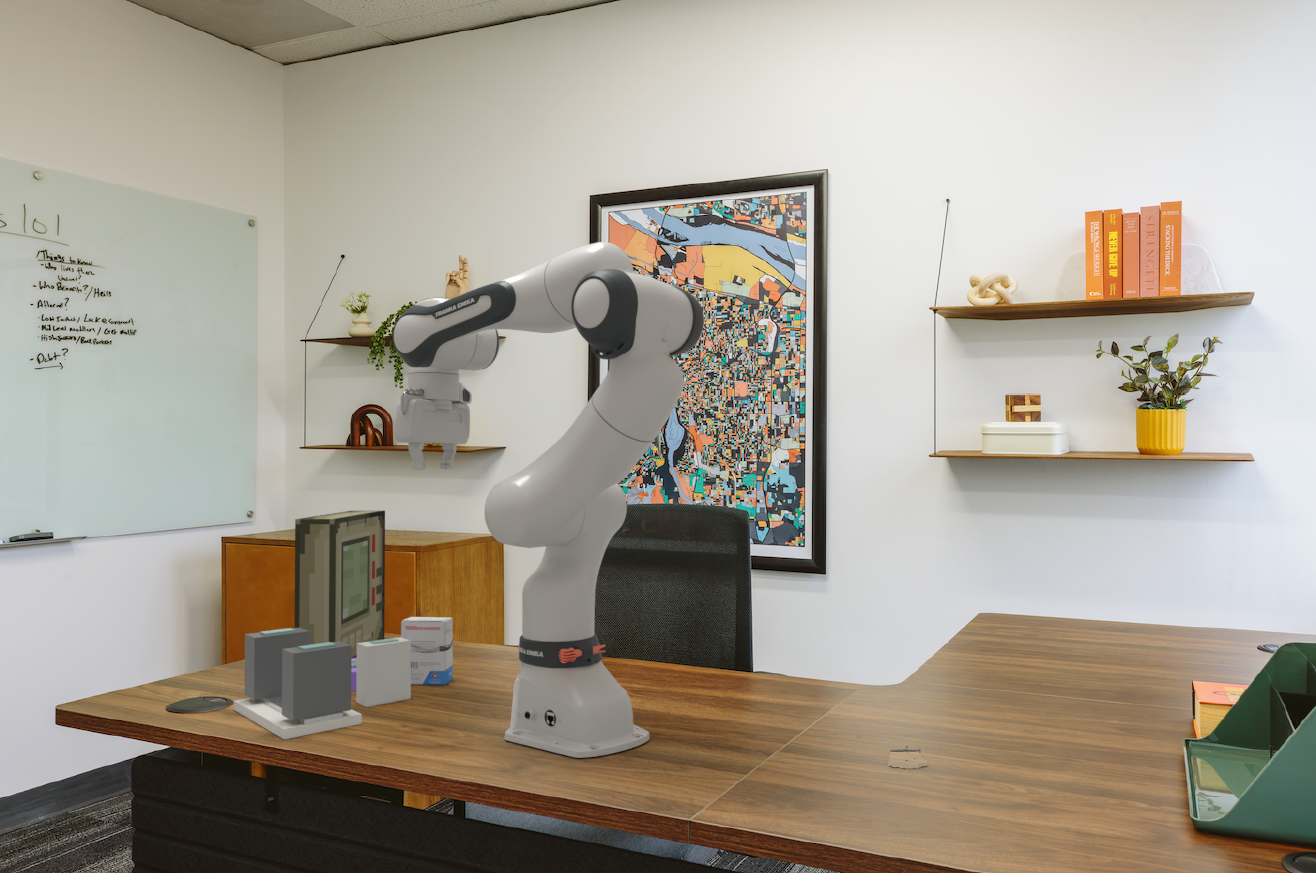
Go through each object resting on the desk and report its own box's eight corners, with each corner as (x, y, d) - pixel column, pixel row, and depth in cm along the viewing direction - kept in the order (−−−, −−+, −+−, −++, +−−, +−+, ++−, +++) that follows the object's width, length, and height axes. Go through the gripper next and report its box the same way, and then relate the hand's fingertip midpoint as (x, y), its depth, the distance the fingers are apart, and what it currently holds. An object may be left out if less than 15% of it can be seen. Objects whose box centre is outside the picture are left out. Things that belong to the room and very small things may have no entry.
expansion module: (410, 698, 161) (411, 639, 161) (366, 707, 155) (367, 645, 155) (399, 694, 164) (400, 635, 164) (356, 702, 158) (356, 641, 158)
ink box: (453, 679, 175) (454, 616, 175) (445, 685, 170) (445, 620, 170) (409, 678, 176) (410, 615, 176) (399, 684, 171) (400, 620, 171)
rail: (343, 717, 143) (343, 712, 143) (304, 725, 139) (304, 719, 139) (288, 691, 159) (289, 686, 159) (252, 697, 155) (252, 692, 155)
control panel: (333, 678, 176) (334, 519, 176) (294, 678, 176) (295, 519, 176) (384, 646, 206) (385, 510, 206) (350, 646, 206) (351, 510, 206)
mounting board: (361, 723, 145) (361, 714, 145) (284, 739, 137) (284, 729, 137) (306, 697, 161) (306, 688, 161) (233, 709, 153) (234, 700, 153)
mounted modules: (351, 710, 145) (351, 643, 145) (293, 721, 139) (293, 651, 139) (298, 685, 160) (299, 625, 160) (244, 694, 154) (245, 632, 154)
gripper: (419, 386, 154) (418, 470, 154) (476, 394, 173) (475, 468, 173) (385, 387, 156) (384, 470, 155) (446, 395, 175) (445, 468, 175)
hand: (433, 469), depth 164 cm, fingers open, 8 cm apart
